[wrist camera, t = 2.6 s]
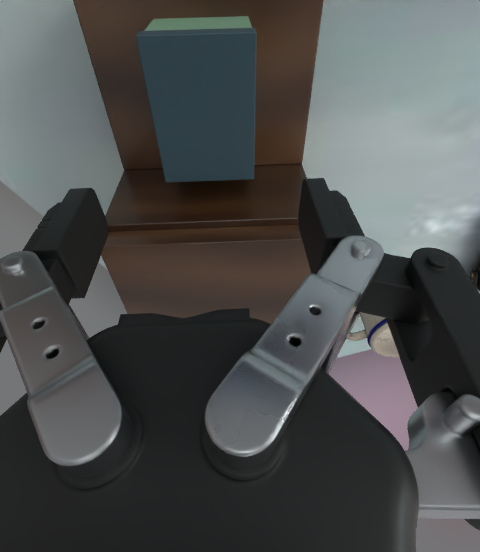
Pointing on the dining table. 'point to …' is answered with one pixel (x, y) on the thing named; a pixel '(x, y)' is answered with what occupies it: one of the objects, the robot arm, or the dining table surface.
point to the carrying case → (476, 278)
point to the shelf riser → (206, 194)
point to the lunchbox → (202, 95)
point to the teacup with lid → (376, 335)
